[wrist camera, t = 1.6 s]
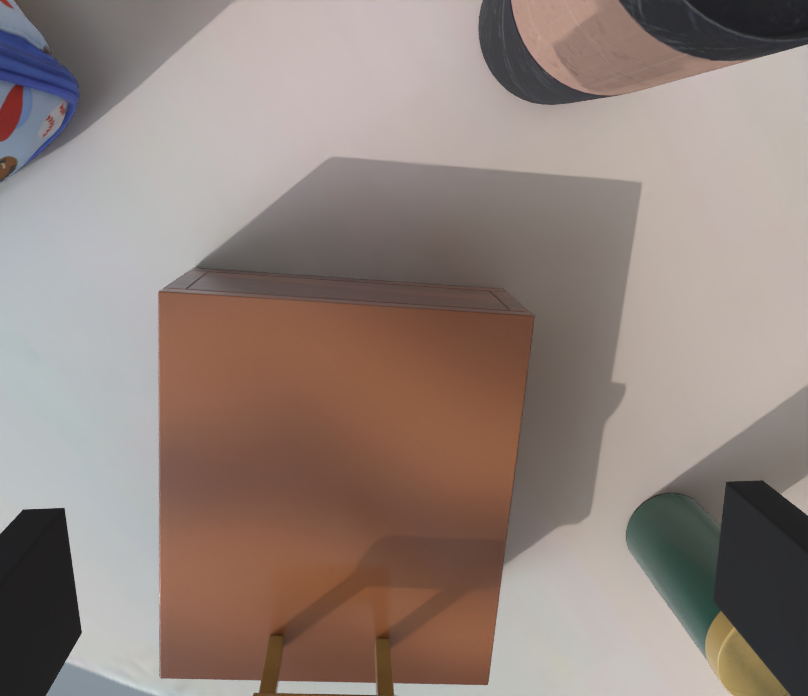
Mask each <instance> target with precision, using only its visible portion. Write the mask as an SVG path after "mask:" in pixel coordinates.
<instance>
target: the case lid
mask: <svg viewBox="0 0 808 696" xmlns="http://www.w3.org/2000/svg"><path fill="white" fill-rule="evenodd" d="M534 318H535V317H534V315H533V314H531V313H530V312H518V311H503V310H488V309H473V308H458V307H443V306H427V305H412V304H397V303H382V302H367V301H352V300H337V299H321V298H306V297H291V296H276V295H261V294H246V293H230V292H215V291H200V290H185V289H170V288H163V289H162V290H160V291H159V647H160V678H172V679H220V680H261V684H260V690H259V693H254V694H253V696H394V689H393V683H412V684H460V685H488V681H489V673H490V665H491V657H492V649H493V642H494V634H495V626H496V618H497V610H498V602H499V594H500V586H501V578H502V570H503V563H504V555H505V547H506V539H507V531H508V523H509V515H510V507H511V499H512V492H513V484H514V476H515V468H516V460H517V452H518V444H519V436H520V428H521V420H522V413H523V405H524V397H525V389H526V381H527V373H528V365H529V357H530V349H531V341H532V334H533V326H534ZM279 681H316V682H364V683H376V695H337V694H285V693H277V689H278V682H279Z"/></svg>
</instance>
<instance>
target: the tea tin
mask: <svg viewBox="0 0 808 696" xmlns="http://www.w3.org/2000/svg"><path fill="white" fill-rule="evenodd" d="M720 532H721V526H720V525H719V524H718V523H717V522H716V521H715V520H714V519H713V518H712V517H711V516H710V515H709V514H708V513H707V512H706V511H705V510H704V509H703V508H702V507H701V506H700V505H699V504H698V503H697V502H696V501H695V500H693V499H691V498H690V497H687V496H685V495H681V494H674V493H671V494H662V495H658V496H656V497H653V498H651V499H649V500H647V501H646V502H644V503H643V504H642V505H641V506H640V507H639V508H638V509H637V510H636V511H635V512H634V514H633V515H632V517H631V519H630V521H629V523H628V526H627V532H626V541H627V545H628V548H629V550H630V552H631V554H632V555H633V557H634V558H635V560H636V561H637V562H638V564H639V565H640V567H641V568H642V569H643V571H644V572H645V574H646V575H647V577H648V578H649V579H650V581H651V582H652V584H653V585H654V586H655V588H656V589H657V591H658V592H659V593H660V595H661V596H662V598H663V599H664V600H665V602H666V603H667V605H668V606H669V608H670V609H671V610H672V612H673V613H674V615H675V616H676V617H677V619H678V620H679V622H680V623H681V624H682V626H683V627H684V629H685V630H686V631H687V633H688V634H689V636H690V637H691V639H692V640H693V641H694V643H695V644H696V646H697V647H698V648H699V650H700V651H701V653H702V654H703V655H704V657H705V658H706V660H707V661H708V663H709V665H710V667H711V669H712V670H713V672H714V673H715V674H716V676H717V677H718V679H719V680H720V681H721V683H722V684H723V686H724V687H725V688H726V690H727V691H729V692H730V693H731V694H732V695H733V696H790V694H789V693H788V692H787V691H786V690H785V688H784V687H783V686H782V685H781V683H780V682H779V681H778V680H777V679H776V677H775V676H774V675H773V674H772V672H771V671H770V670H769V669H768V668H767V666H766V665H765V664H764V663H763V661H762V660H761V659H760V658H759V657H758V655H757V654H756V653H755V652H754V650H753V649H752V648H751V647H750V646H749V644H748V643H747V642H746V641H745V640H744V638H743V637H742V636H741V635H740V633H739V632H738V631H737V630H736V629H735V627H734V626H733V625H732V624H731V622H730V621H729V620H728V619H727V618H726V616H725V615H724V614H723V613H722V611H721V610H720V609H719V608H718V607H717V605H716V604H715V603H714V602H713V596H714V587H715V578H716V569H717V560H718V551H719V541H720Z"/></svg>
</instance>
